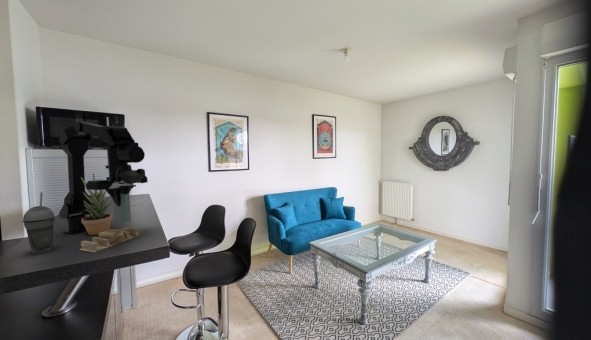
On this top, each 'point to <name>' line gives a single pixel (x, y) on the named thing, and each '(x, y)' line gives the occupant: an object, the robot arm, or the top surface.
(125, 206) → the teal rectangular block
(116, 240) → the walnut offcut
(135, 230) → the birch rack
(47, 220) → the beverage cup
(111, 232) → the pine offcut
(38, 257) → the top surface
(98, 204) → the potted plant
